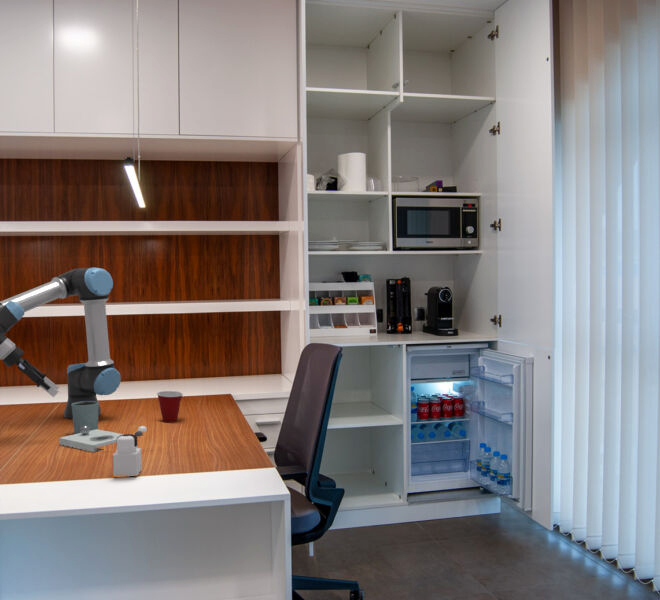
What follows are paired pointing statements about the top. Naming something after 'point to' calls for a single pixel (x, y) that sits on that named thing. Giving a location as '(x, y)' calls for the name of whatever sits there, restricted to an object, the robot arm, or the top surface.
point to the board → (90, 440)
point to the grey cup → (85, 415)
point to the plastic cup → (169, 405)
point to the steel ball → (85, 430)
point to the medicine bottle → (127, 456)
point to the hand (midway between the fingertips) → (56, 392)
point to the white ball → (142, 429)
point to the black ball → (138, 433)
